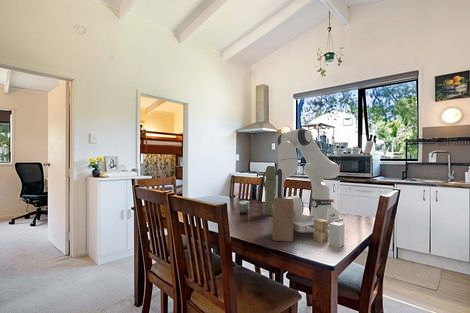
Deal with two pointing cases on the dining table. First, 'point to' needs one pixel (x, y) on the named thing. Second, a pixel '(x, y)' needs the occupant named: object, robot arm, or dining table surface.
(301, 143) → the robot arm
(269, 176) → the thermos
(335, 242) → the grey block
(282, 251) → the dining table surface
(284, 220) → the block
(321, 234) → the oak block
